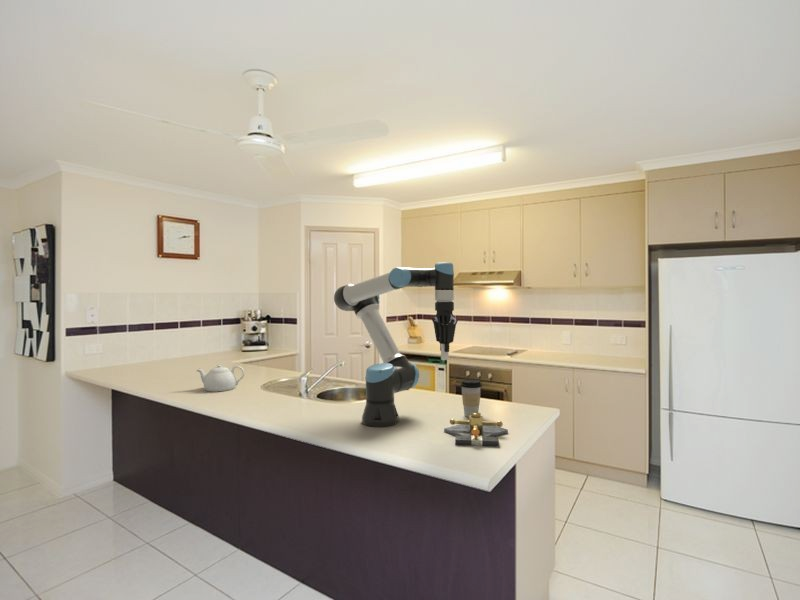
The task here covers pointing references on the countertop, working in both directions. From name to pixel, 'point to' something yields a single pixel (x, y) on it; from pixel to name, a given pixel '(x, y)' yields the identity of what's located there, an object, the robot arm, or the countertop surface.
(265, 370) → the countertop surface
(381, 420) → the robot arm
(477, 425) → the handle
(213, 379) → the teapot
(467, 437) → the stand
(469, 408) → the coffee cup
